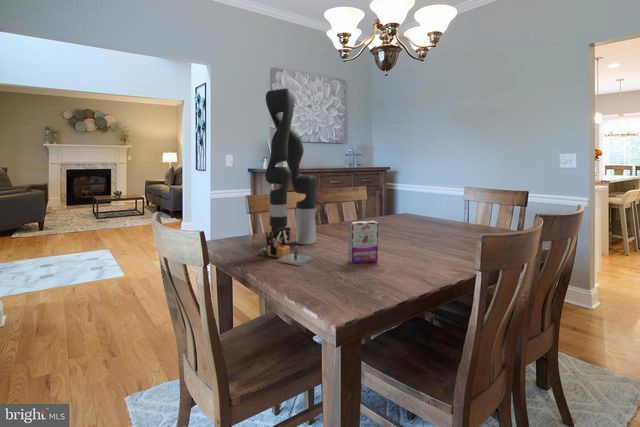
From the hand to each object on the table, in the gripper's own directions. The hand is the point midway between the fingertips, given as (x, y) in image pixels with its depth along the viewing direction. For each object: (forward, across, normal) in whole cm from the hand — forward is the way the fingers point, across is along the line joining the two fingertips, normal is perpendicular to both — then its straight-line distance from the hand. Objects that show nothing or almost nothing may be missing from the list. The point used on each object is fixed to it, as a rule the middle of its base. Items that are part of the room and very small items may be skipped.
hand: (278, 253), depth 158 cm
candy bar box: (+1, -11, +34) cm, 36 cm away
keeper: (+1, +3, +11) cm, 11 cm away
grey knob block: (+1, +2, -6) cm, 7 cm away
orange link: (+1, 0, 0) cm, 1 cm away
